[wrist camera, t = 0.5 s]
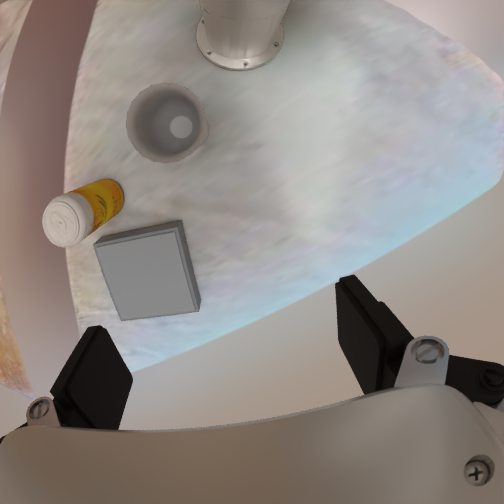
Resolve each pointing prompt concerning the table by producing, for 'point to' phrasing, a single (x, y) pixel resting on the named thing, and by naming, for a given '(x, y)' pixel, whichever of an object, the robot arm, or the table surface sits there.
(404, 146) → the table surface
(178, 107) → the chalice
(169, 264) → the plinth
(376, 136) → the table surface
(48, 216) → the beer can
